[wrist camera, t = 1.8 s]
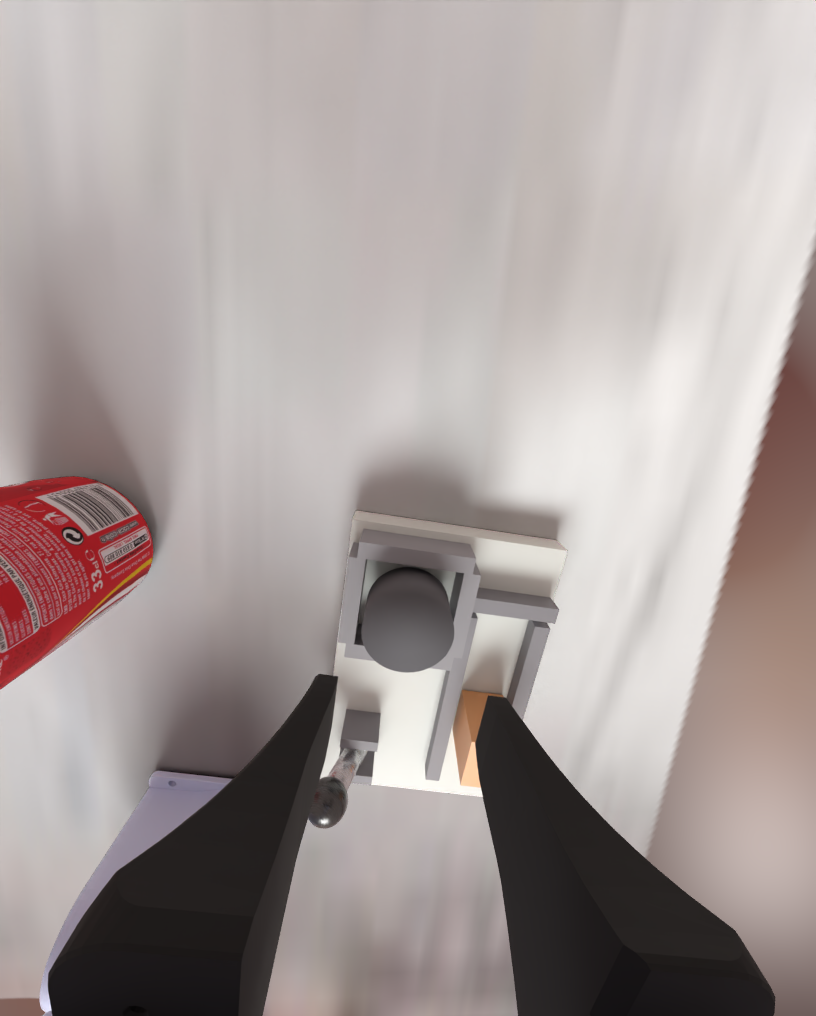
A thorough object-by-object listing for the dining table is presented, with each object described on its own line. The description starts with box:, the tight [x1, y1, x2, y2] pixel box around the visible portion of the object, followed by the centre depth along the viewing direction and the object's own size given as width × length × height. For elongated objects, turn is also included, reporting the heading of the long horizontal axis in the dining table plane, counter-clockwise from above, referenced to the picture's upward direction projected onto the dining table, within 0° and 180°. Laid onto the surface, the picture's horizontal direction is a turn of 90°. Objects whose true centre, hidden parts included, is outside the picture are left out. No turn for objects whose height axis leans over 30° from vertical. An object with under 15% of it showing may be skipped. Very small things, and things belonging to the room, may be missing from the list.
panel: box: [320, 510, 568, 797], centre depth 21 cm, size 11×17×4 cm, turn 171°
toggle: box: [308, 748, 368, 828], centre depth 20 cm, size 2×2×5 cm
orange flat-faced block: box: [452, 690, 504, 788], centre depth 21 cm, size 2×3×3 cm
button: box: [361, 567, 454, 673], centre depth 18 cm, size 4×4×2 cm
